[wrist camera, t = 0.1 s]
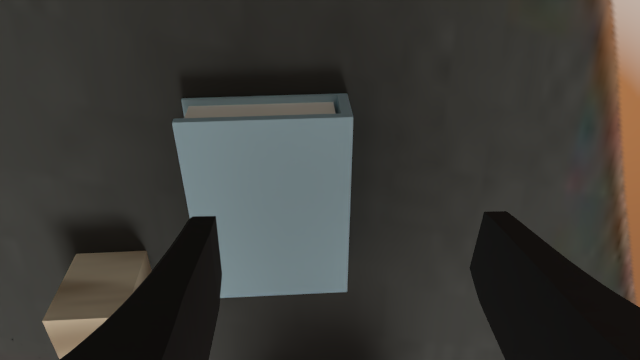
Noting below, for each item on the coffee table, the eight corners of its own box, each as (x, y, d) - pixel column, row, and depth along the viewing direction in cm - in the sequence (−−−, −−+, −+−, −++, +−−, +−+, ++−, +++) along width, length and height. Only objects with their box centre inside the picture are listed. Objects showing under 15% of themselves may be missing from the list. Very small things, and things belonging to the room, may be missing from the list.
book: (342, 258, 31) (347, 292, 29) (210, 264, 31) (204, 298, 28) (346, 91, 25) (353, 117, 22) (182, 96, 24) (171, 122, 22)
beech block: (158, 298, 32) (140, 367, 27) (93, 301, 31) (65, 371, 27) (146, 250, 29) (124, 316, 25) (76, 253, 29) (42, 321, 25)
